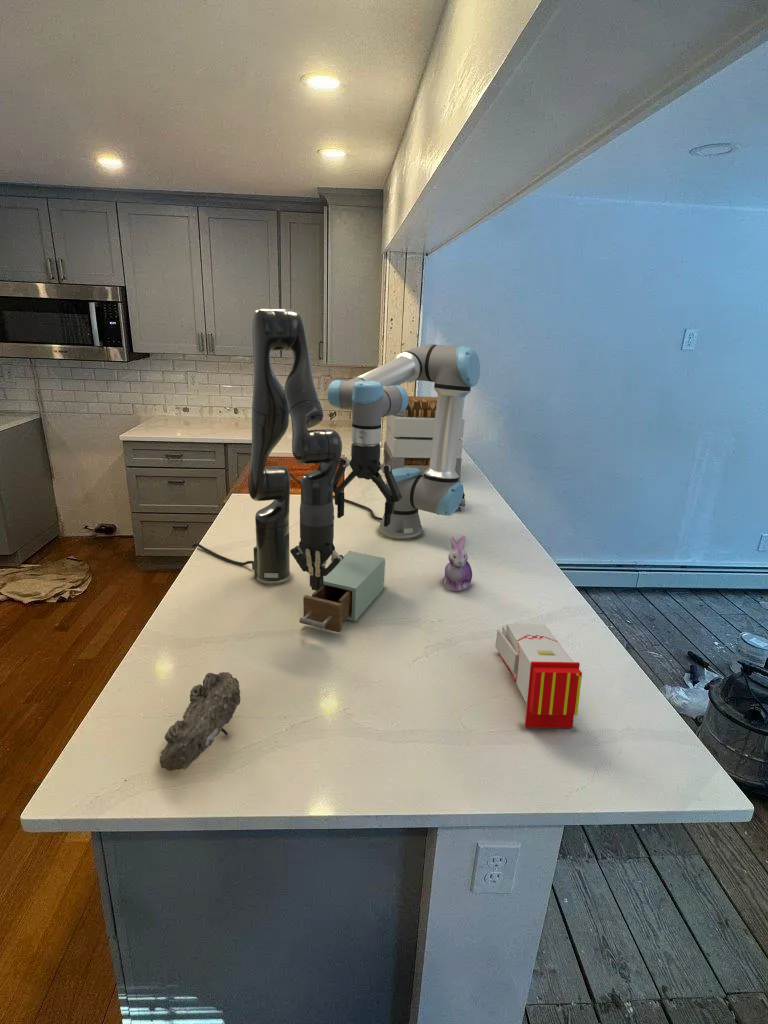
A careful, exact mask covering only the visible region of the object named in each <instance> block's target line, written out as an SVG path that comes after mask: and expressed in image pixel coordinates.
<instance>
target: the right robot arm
mask: <svg viewBox="0 0 768 1024" xmlns="http://www.w3.org/2000/svg"><path fill="white" fill-rule="evenodd" d="M480 375H481V362H480V357H479V355H478V353H477V351H476V350H475V349H473V348H472V347H467V346H462V345H460V346H459V345H457V346H456V345H446V344H445V345H444V344H436V343H435V344H434V343H433V344H432V343H430V344H424V345H419V346H416V347H413V348H410V349H408V350H405V351H403V352H400V353H399V354H397V356H396V357H395V358H394V359H393V360H391V361H388V362H387V363H384V364H382V365H380V366H377V367H375V368H374V369H371V370H369V371H367V372H365V373H363V374H361V375H358V376H356V377H353V378H351V379H349V380H344V379H337V380H336V379H335V380H333V381H331V383H330V384H329V386H328V388H327V391H326V392H327V393H326V395H327V401H328V403H329V404H330V406H331V407H334V408H338V409H341V410H350V411H352V412H351V413H352V415H351V416H352V418H351V419H352V422H351V442H352V443H351V444H350V445H351V447H350V448H351V449H350V457H351V459H348V457H342V458H340V460H339V463H338V467H337V470H336V474H335V478H334V482H333V499H334V505H335V506H337V510H336V511H337V512H336V513H337V515H336V519H341V518H342V517H344V516H345V503H348V504H352V505H354V506H356V507H359V508H362V509H365V510H367V511H369V512H370V515H371V517H372V518H373V519H375V520H377V521H381V522H379V525H378V533H379V534H380V535H381V536H382V537H385V538H387V539H389V540H395V541H410V540H415V539H418V538H420V537H421V536H422V535H423V525H422V524H421V518H420V515H419V510H420V511H423V512H427V513H432V514H435V515H437V516H439V515H441V516H445V517H448V516H449V517H450V516H452V515H453V514H454V513H456V511H457V510H458V507H459V505H460V503H461V500H462V497H463V492H464V491H465V489H464V485H463V483H461V481H460V482H458V479H459V475H458V474H457V473H456V471H455V467H456V459H457V452H458V444H459V437H460V429H461V422H462V419H463V414H464V408H465V407H464V406H465V398H466V397H467V395H469V394H470V393H471V391H472V388H473V387H475V386H477V384H478V382H479V379H480ZM415 381H420V382H421V381H423V382H430V383H433V384H434V385H433V389H434V391H435V392H436V393H437V397H438V398H437V407H436V415H435V423H434V431H433V440H432V448H431V456H430V464H429V465H428V468H427V469H426V470H424V471H423V474H422V470H421V468H419V467H412V466H411V467H408V466H407V467H404V468H398V469H393V470H392V465H391V464H387V465H384V464H381V448H382V447H381V446H382V445H381V442H382V422H383V421H382V420H383V418H386V416H389V415H395V414H397V413H400V412H402V411H404V410H405V409H406V407H407V405H408V401H409V399H408V396H409V395H408V392H407V390H406V389H405V388H404V387H403V386H402V384H404V383H406V384H409V383H413V382H415ZM399 385H400V386H399ZM347 467H350V469H351V470H352V471H351V472H350V473H349V474H348V476H347V477H346V478H345V479H344V480H342V482H341V483H340V484H339V482H340V481H341V479H342V477H343V475H344V473H345V471H346V470H347ZM380 471H382V473H383V474H384V478H385V480H384V479H383V478H382V475H381V473H380ZM289 475H290V478H292V479H293V480H294V481H295V482H297V483H298V484H300V485H301V480H299V479H297V478H296V477H295V476H294V475H293V474H292V473H289ZM356 477H357V479H364V480H368V481H369V480H371V481H372V483H374V484H375V485H376V487H377V488H378V490H379V491H380V492H381V494H382V495H383V497H384V498H385V502H384V513H383V515H382V517H380V516H376V515H375V514H374V511H373V509H371V508H370V507H368V506H366V505H364V504H360V503H358V502H355V501H352V500H349V499H347V498H345V492H343V491H344V490H345V488H347V486H349V484H350V483H351V482H352V481H353V480H354V479H355V478H356ZM338 484H339V485H338ZM464 493H465V492H464Z"/></svg>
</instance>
